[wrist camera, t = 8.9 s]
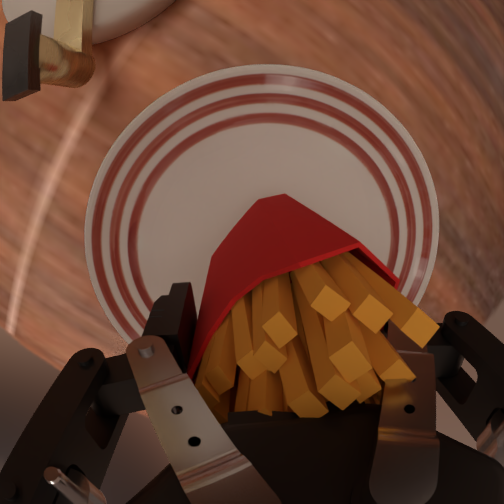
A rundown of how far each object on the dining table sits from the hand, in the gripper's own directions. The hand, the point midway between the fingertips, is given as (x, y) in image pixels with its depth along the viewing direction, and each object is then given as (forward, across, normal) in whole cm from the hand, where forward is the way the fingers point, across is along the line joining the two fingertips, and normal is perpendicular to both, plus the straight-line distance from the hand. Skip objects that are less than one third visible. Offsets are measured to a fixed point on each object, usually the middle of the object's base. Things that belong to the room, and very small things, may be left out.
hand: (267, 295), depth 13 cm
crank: (+7, +10, -18) cm, 21 cm away
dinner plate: (+12, -1, +3) cm, 12 cm away
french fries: (+5, 0, 0) cm, 5 cm away
